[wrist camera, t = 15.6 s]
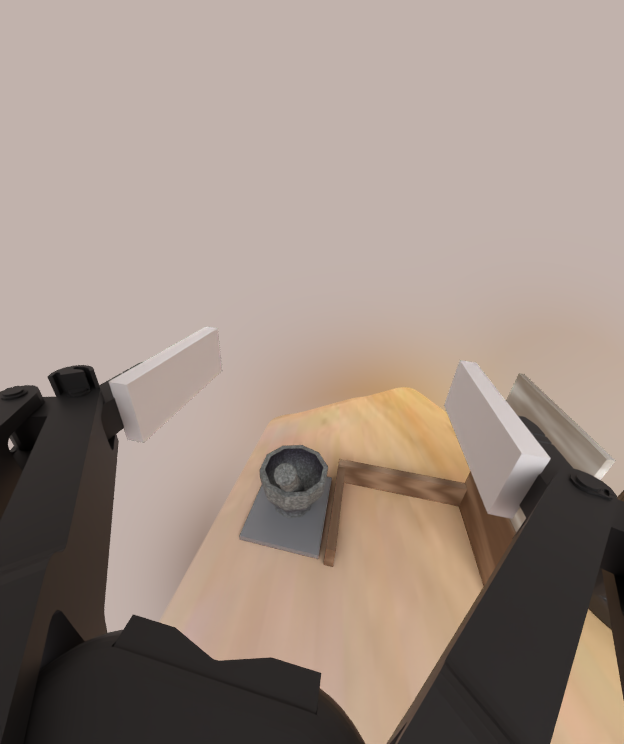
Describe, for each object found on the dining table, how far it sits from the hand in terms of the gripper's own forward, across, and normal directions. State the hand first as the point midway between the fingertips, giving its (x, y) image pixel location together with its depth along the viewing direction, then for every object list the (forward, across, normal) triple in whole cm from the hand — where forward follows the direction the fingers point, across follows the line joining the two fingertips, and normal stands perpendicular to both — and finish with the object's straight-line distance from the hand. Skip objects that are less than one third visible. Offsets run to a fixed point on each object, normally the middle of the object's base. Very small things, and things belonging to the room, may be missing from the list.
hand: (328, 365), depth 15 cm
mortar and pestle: (+14, -5, -31) cm, 34 cm away
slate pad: (+14, -5, -32) cm, 35 cm away
